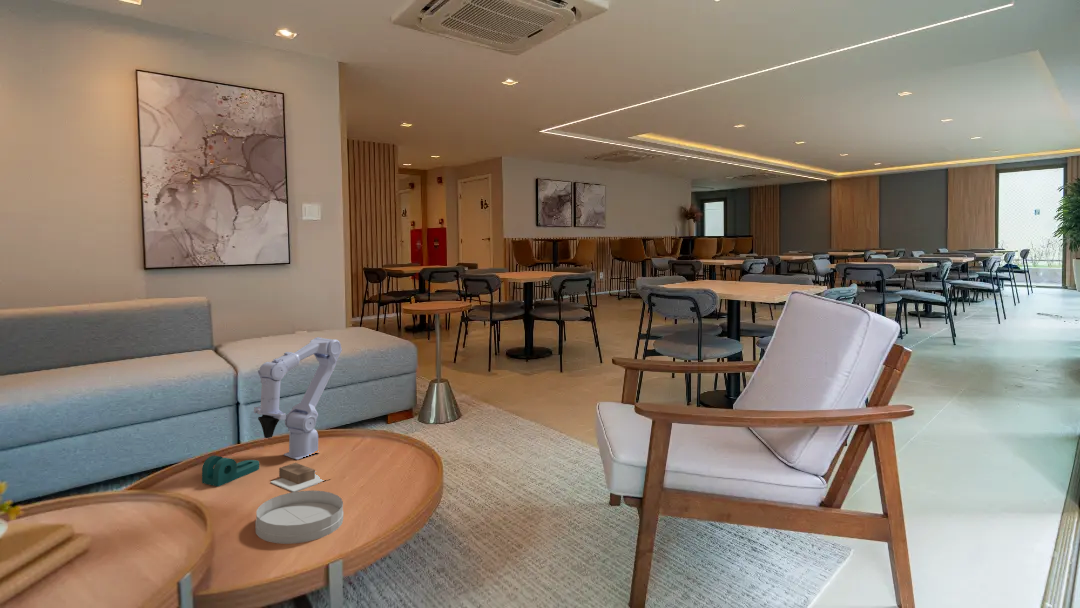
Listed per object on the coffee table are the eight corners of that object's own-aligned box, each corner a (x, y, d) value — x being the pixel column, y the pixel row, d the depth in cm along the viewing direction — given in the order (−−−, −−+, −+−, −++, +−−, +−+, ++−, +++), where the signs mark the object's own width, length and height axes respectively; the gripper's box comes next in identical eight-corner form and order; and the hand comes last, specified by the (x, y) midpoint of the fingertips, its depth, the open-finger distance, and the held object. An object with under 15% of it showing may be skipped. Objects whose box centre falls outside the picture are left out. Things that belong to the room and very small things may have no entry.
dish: (317, 500, 168) (317, 483, 168) (359, 524, 155) (359, 506, 154) (240, 524, 151) (240, 506, 151) (279, 554, 137) (280, 534, 137)
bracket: (218, 487, 174) (218, 462, 173) (201, 483, 176) (202, 459, 175) (263, 468, 191) (264, 445, 190) (248, 465, 193) (248, 442, 192)
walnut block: (295, 462, 187) (314, 469, 182) (295, 471, 188) (314, 478, 182) (279, 467, 182) (298, 475, 177) (279, 476, 183) (298, 484, 177)
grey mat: (309, 470, 190) (309, 469, 190) (332, 478, 184) (332, 477, 184) (270, 482, 178) (270, 481, 178) (293, 492, 172) (293, 491, 172)
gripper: (246, 395, 190) (244, 435, 191) (273, 402, 183) (270, 443, 183) (265, 393, 196) (263, 431, 197) (292, 399, 189) (289, 439, 190)
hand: (268, 437), depth 191 cm, fingers closed
